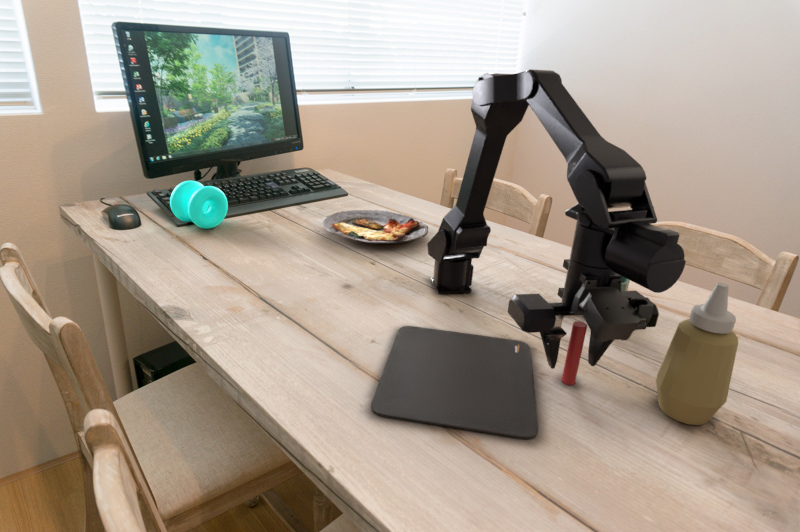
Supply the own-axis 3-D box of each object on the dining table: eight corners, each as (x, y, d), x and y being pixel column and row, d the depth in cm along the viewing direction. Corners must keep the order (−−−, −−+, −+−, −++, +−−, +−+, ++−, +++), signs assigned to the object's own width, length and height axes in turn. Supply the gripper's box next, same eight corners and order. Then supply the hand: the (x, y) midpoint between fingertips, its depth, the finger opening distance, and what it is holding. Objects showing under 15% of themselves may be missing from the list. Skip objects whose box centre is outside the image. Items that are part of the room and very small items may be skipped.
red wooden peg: (565, 385, 72) (577, 327, 69) (559, 378, 74) (570, 321, 71) (577, 384, 73) (589, 327, 69) (571, 377, 74) (583, 320, 71)
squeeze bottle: (637, 392, 72) (670, 270, 65) (693, 392, 72) (732, 271, 66) (670, 432, 64) (712, 299, 57) (732, 432, 65) (780, 300, 58)
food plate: (444, 232, 130) (445, 219, 129) (392, 259, 112) (393, 243, 110) (362, 212, 142) (362, 200, 141) (303, 233, 124) (303, 219, 123)
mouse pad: (538, 441, 61) (539, 439, 61) (367, 414, 64) (367, 412, 64) (529, 343, 82) (529, 341, 82) (400, 326, 85) (400, 324, 85)
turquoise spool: (206, 215, 133) (202, 176, 129) (231, 224, 128) (229, 184, 124) (169, 224, 125) (165, 182, 122) (195, 234, 120) (191, 191, 116)
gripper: (553, 289, 57) (531, 407, 63) (703, 284, 61) (669, 397, 67) (514, 252, 67) (499, 357, 73) (644, 250, 71) (620, 350, 77)
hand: (571, 365), depth 72 cm, fingers open, 6 cm apart
